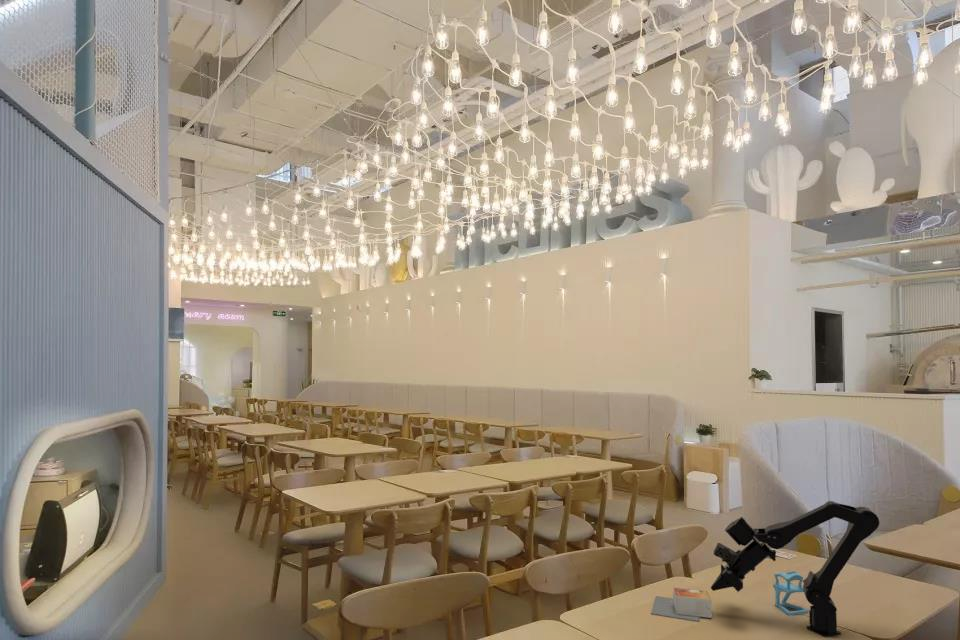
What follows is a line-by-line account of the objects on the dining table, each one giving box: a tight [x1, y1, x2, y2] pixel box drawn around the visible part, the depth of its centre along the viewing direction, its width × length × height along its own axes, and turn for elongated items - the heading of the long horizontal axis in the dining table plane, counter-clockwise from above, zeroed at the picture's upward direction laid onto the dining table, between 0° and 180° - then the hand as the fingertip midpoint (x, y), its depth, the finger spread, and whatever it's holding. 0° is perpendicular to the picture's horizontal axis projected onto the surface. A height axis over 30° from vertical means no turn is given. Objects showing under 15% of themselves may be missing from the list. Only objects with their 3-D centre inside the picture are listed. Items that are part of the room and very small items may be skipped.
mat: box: [650, 595, 701, 623], centre depth 196 cm, size 14×16×1 cm
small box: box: [672, 587, 713, 619], centre depth 193 cm, size 8×6×10 cm
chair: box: [772, 570, 809, 616], centre depth 198 cm, size 8×8×12 cm
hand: (711, 589), depth 192 cm, fingers closed
